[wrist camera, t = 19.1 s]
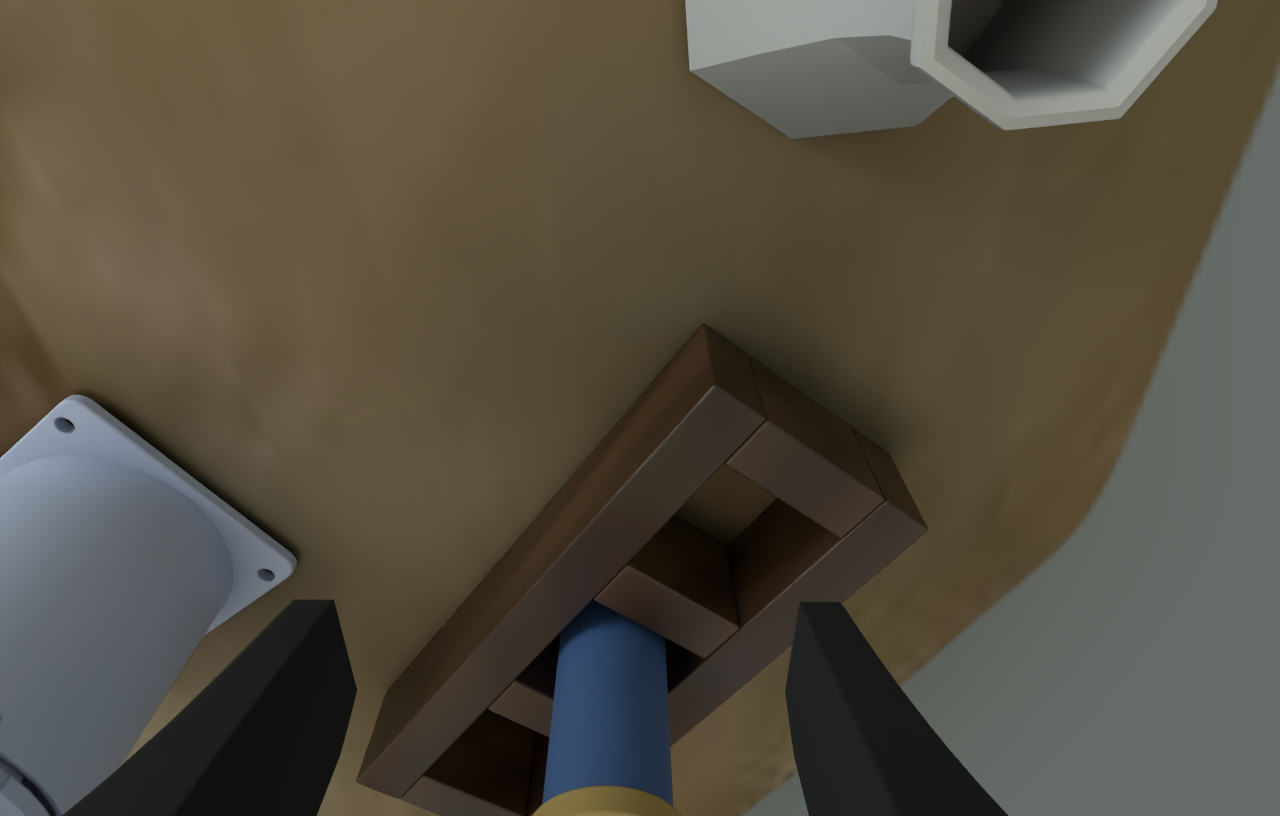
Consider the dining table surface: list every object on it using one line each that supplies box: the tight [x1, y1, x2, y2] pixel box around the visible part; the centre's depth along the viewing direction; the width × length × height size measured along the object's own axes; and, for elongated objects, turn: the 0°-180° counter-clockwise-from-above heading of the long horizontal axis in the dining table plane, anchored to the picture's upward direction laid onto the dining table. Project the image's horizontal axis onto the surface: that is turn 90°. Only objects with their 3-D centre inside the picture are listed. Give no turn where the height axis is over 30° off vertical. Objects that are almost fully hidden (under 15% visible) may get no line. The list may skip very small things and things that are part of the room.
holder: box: [356, 324, 928, 816], centre depth 24 cm, size 7×18×4 cm, turn 143°
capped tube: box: [533, 598, 681, 816], centre depth 21 cm, size 4×4×9 cm
